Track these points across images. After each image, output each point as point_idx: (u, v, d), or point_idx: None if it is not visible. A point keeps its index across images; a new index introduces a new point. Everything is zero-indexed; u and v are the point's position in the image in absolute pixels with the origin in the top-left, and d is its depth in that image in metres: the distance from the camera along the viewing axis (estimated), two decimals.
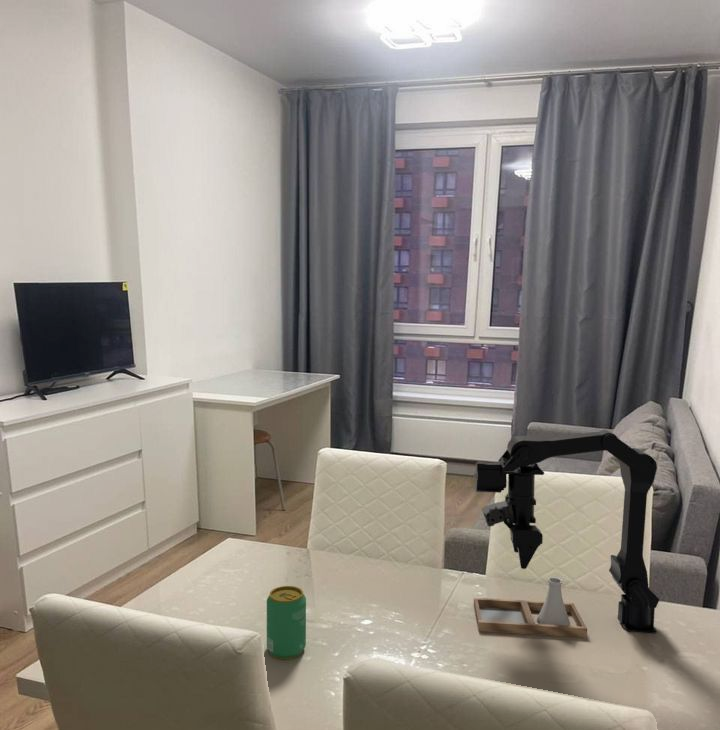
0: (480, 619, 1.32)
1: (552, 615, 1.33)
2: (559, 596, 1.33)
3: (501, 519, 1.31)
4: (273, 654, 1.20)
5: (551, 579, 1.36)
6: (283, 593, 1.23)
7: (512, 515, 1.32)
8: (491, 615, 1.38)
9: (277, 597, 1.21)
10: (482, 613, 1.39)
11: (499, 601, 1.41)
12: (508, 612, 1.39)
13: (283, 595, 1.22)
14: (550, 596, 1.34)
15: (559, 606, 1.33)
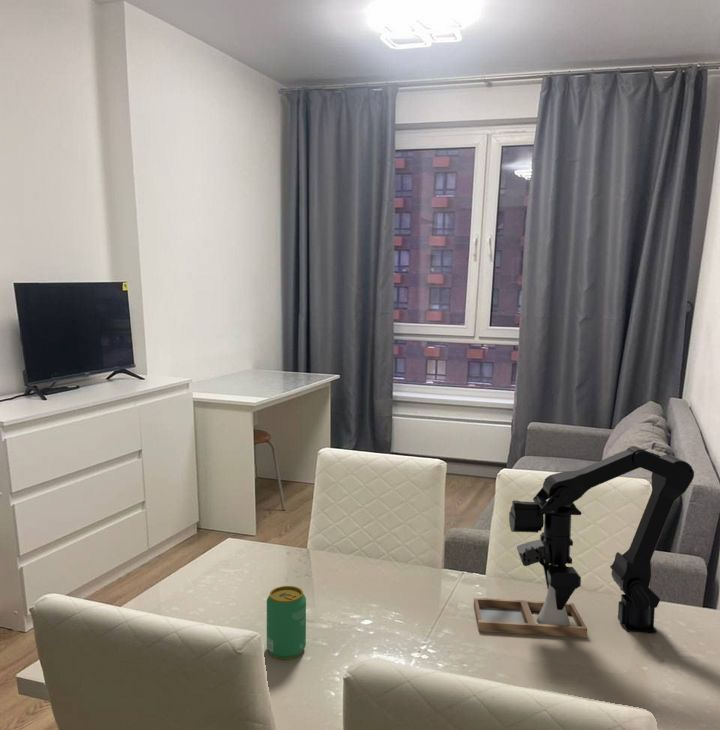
0: (480, 619, 1.32)
1: (552, 615, 1.33)
2: None
3: (538, 559, 1.30)
4: (273, 654, 1.20)
5: None
6: (283, 593, 1.23)
7: (548, 555, 1.31)
8: (491, 615, 1.38)
9: (277, 597, 1.21)
10: (482, 613, 1.39)
11: (499, 601, 1.41)
12: (508, 612, 1.39)
13: (283, 595, 1.22)
14: (550, 596, 1.34)
15: None
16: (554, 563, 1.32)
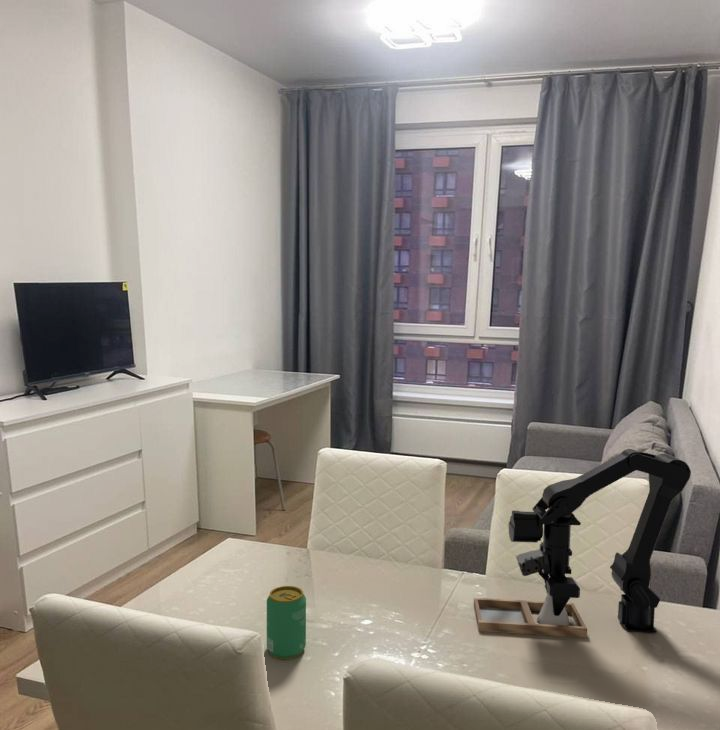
0: (480, 619, 1.32)
1: (552, 614, 1.33)
2: None
3: (537, 570, 1.30)
4: (273, 654, 1.20)
5: None
6: (283, 593, 1.23)
7: (548, 565, 1.31)
8: (491, 615, 1.38)
9: (277, 597, 1.21)
10: (482, 613, 1.39)
11: (499, 601, 1.41)
12: (508, 612, 1.39)
13: (283, 595, 1.22)
14: None
15: None
16: (553, 573, 1.32)
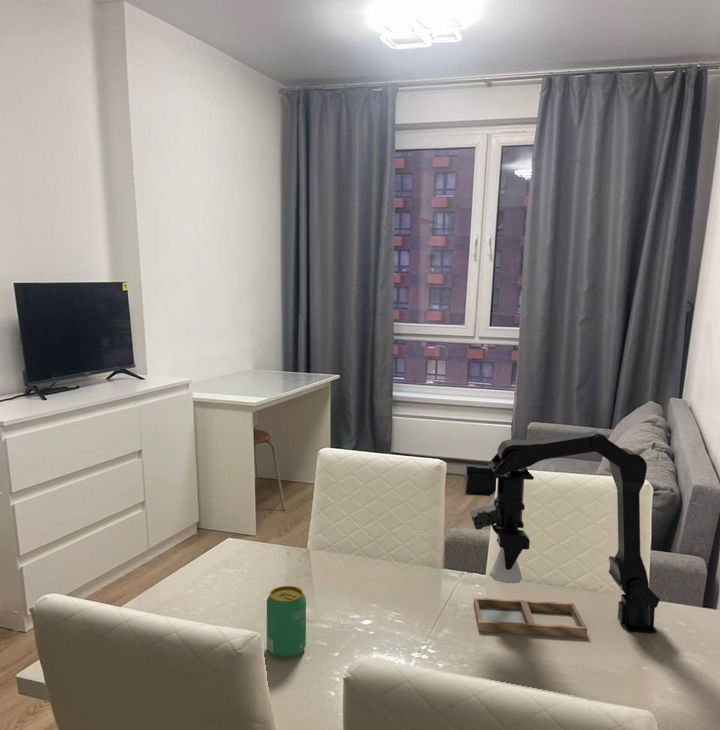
0: (480, 619, 1.32)
1: (504, 569, 1.33)
2: None
3: (489, 523, 1.31)
4: (273, 654, 1.20)
5: None
6: (283, 593, 1.23)
7: (500, 519, 1.32)
8: (491, 615, 1.38)
9: (277, 597, 1.21)
10: (482, 613, 1.39)
11: (499, 601, 1.41)
12: (508, 612, 1.39)
13: (283, 595, 1.22)
14: (502, 550, 1.34)
15: None
16: (505, 527, 1.32)
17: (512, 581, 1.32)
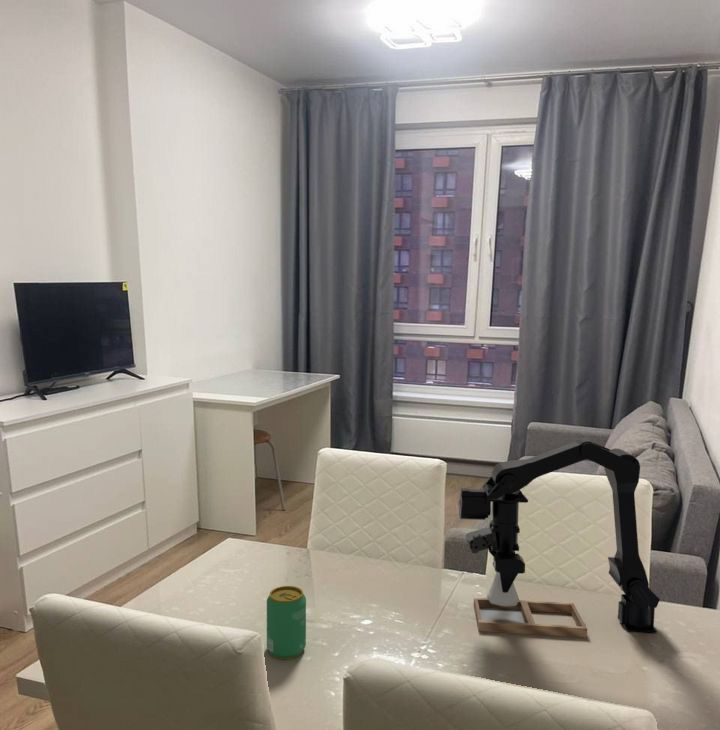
0: (480, 619, 1.32)
1: (501, 592, 1.33)
2: None
3: (484, 547, 1.31)
4: (273, 654, 1.20)
5: None
6: (283, 593, 1.23)
7: (495, 543, 1.32)
8: (491, 615, 1.38)
9: (277, 597, 1.21)
10: (482, 613, 1.39)
11: None
12: (508, 612, 1.39)
13: (283, 595, 1.22)
14: (499, 573, 1.35)
15: None
16: (501, 550, 1.32)
17: (509, 604, 1.33)
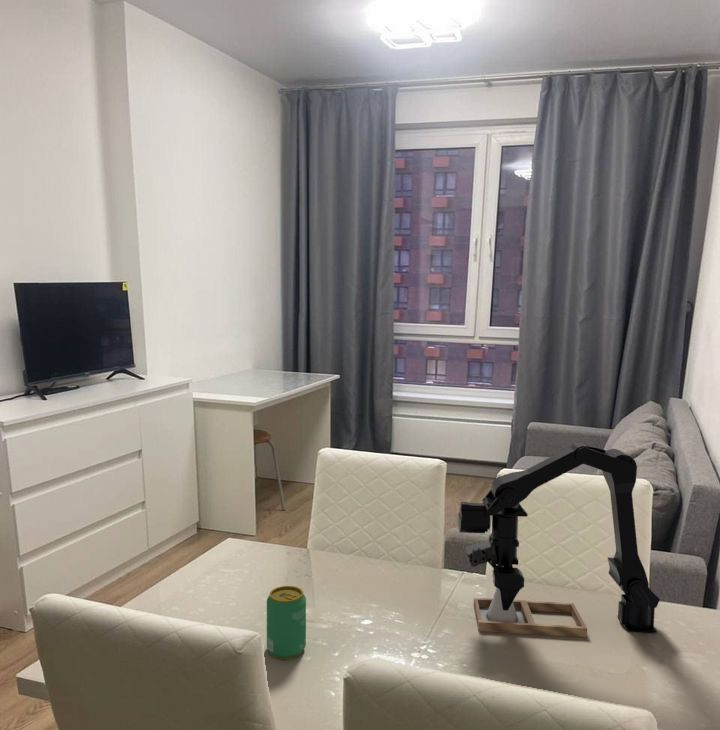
0: (480, 619, 1.32)
1: (500, 610, 1.34)
2: None
3: (484, 560, 1.31)
4: (273, 654, 1.20)
5: None
6: (283, 593, 1.23)
7: (495, 556, 1.32)
8: None
9: (277, 597, 1.21)
10: (482, 613, 1.39)
11: None
12: None
13: (283, 595, 1.22)
14: (498, 591, 1.35)
15: None
16: (500, 564, 1.33)
17: None
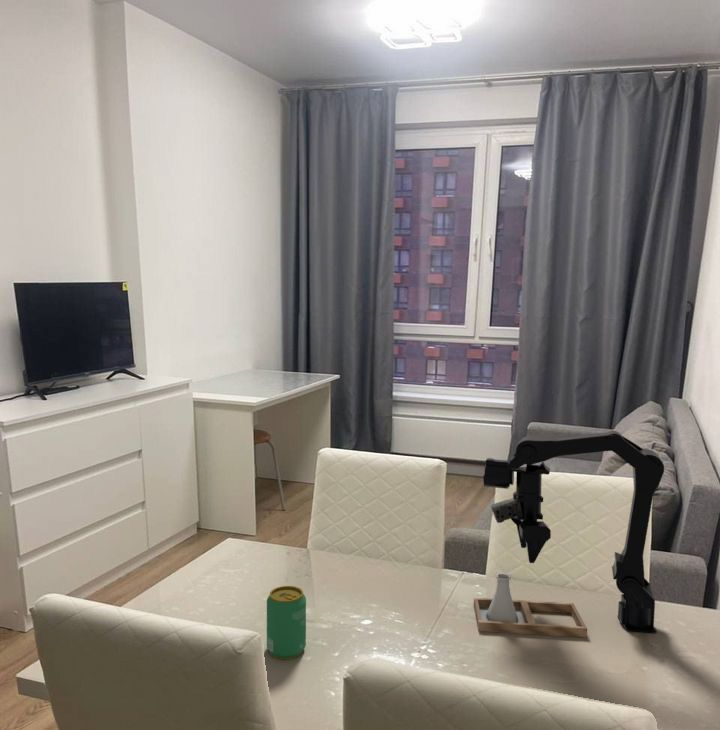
0: (480, 619, 1.32)
1: (500, 610, 1.34)
2: (507, 592, 1.34)
3: (510, 516, 1.37)
4: (273, 654, 1.20)
5: (500, 575, 1.37)
6: (283, 593, 1.23)
7: (520, 512, 1.38)
8: None
9: (277, 597, 1.21)
10: (482, 613, 1.39)
11: None
12: None
13: (283, 595, 1.22)
14: (498, 591, 1.35)
15: (506, 601, 1.34)
16: (526, 519, 1.38)
17: None
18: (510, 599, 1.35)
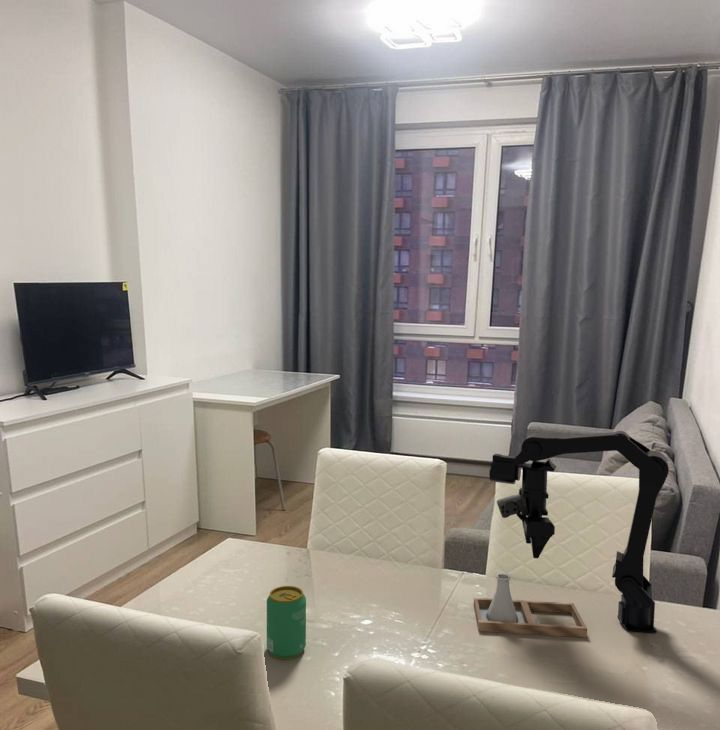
0: (480, 619, 1.32)
1: (500, 610, 1.34)
2: (507, 592, 1.34)
3: (515, 511, 1.39)
4: (273, 654, 1.20)
5: (500, 575, 1.37)
6: (283, 593, 1.23)
7: (526, 507, 1.40)
8: None
9: (277, 597, 1.21)
10: (482, 613, 1.39)
11: None
12: None
13: (283, 595, 1.22)
14: (498, 591, 1.35)
15: (506, 601, 1.34)
16: (531, 515, 1.40)
17: None
18: (510, 599, 1.35)
